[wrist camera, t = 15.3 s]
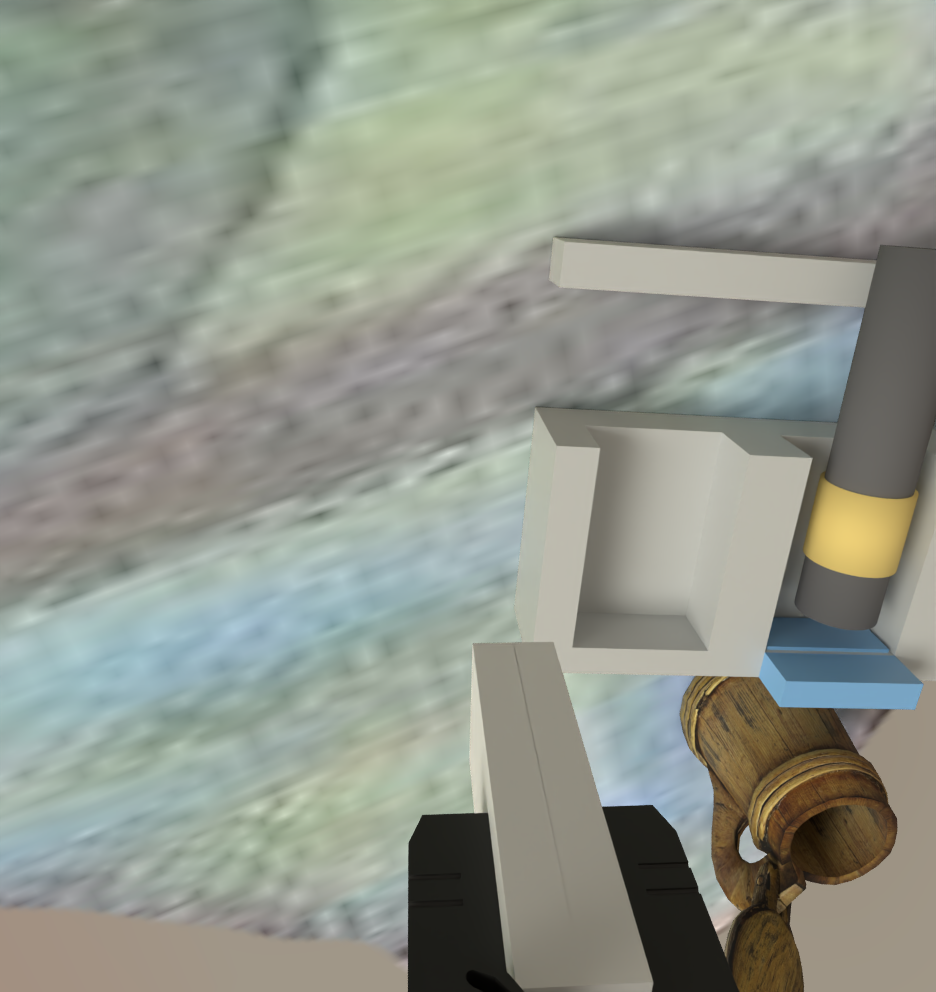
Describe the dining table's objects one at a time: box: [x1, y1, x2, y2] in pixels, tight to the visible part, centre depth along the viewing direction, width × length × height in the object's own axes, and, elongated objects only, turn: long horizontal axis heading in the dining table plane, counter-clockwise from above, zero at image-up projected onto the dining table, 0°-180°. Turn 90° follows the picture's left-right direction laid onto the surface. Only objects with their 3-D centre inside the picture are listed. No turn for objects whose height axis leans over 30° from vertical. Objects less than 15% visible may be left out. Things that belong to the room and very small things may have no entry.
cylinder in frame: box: [514, 237, 936, 710], centre depth 39 cm, size 20×22×9 cm
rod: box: [794, 245, 936, 630], centre depth 38 cm, size 18×4×4 cm, turn 176°
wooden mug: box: [680, 676, 897, 992], centre depth 42 cm, size 9×14×18 cm, turn 132°
